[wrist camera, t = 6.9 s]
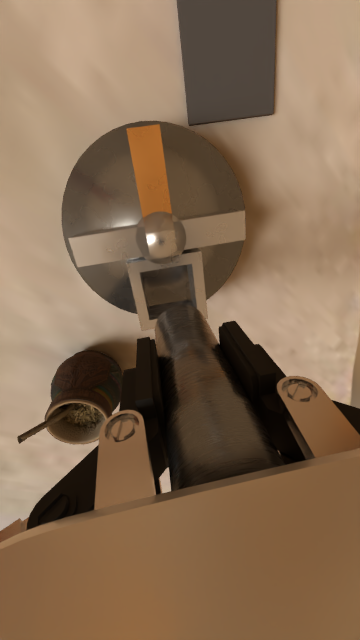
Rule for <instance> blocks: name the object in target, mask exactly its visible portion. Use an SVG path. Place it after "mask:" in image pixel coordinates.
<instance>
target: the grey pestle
mask: <svg viewBox="0 0 360 640" xmlns="http://www.w3.org/2000/svg"><path fill="white" fill-rule="evenodd" d="M155 336H156V346H157V354H158V359H159V368H160V378H161V387H162V396H163V405H164V415H165V433H166V443H167V453H168V463H169V472H170V482H171V491H175V490H179V489H184V488H188V487H192V486H196V485H201V484H205V483H209V482H214V481H218V480H222V479H227V478H231V477H235V476H239V475H244V474H248V473H253V472H257V471H261V470H266V469H270V468H274V467H279V466H283V465H285V463H284V461H283V459H282V457H281V455H280V454H279V452H278V450H277V448H276V446H275V445H274V443H273V441H272V439H271V437H270V435H269V434H268V432H267V430H266V428H265V426H264V425H263V423H262V421H261V419H260V417H259V415H258V414H257V412H256V410H255V408H254V406H253V405H252V403H251V401H250V399H249V397H248V396H247V394H246V392H245V390H244V388H243V386H242V385H241V383H240V381H239V379H238V377H237V376H236V374H235V372H234V370H233V368H232V366H231V365H230V363H229V361H228V359H227V357H226V356H225V354H224V352H223V350H222V348H221V346H220V345H219V343H218V341H217V339H216V337H215V336H214V334H213V332H212V330H211V328H210V326H209V325H208V323H207V321H206V319H205V317H204V316H203V314H202V313H201V312H200V311H199V310H198V309H196V308H195V307H192V306H189V305H176V306H173V307H170V308H168V309H167V310H165V311H164V312H163V313H162V314H161V315H160V316H159V318H158V319H157V322H156V325H155Z"/></svg>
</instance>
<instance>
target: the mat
mask: <svg viewBox="0 0 360 640" xmlns="http://www.w3.org/2000/svg"><path fill="white" fill-rule="evenodd" d="M177 8H178V18H179V29H180V39H181V49H182V60H183V70H184V81H185V91H186V102H187V112H188V123H189V126H191V125H198V124H206V123H214V122H221V121H229V120H236V119H244V118H251V117H259V116H267V115H272V114H273V111H274V72H275V34H276V0H177Z"/></svg>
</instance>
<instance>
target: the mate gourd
mask: <svg viewBox="0 0 360 640" xmlns="http://www.w3.org/2000/svg"><path fill="white" fill-rule="evenodd" d="M122 382H123V375H122V372H121V369H120V367H119V365H118V364H117V363H116V362H115V361H114V360H113V359H112V358H111V357H109V356H108V355H106V354H103V353H101V352H98V351H82V352H79V353H76V354H75V355H74V356H72V357H70V358H68V359H67V360H66V361H64V362H63V363H62V364H61V365H60V366H59V368H58V369H57V372H56V374H55V376H54V378H53V380H52V383H51V399H52V402H51V404H50V406H49V408H48V410H47V412H46V415H45V422H43V423H41V424H39V425H38V426H36V427H34V428H32V429H30V430H29V431H27V432H25V433H24V434H22V435H20V436H18V437H17V438H18V442H19V444H20V443H21V442H23V441H24V440H25V439H27V438H28V437H30V436H32V435H35V433H37V432H39V431H40V430H42V429H45V428H47V430H48V432H49V433H50V434H51V435H52V436H53V437H54V438H56V439H58V440H60V441H62V442H65V443H69V444H88V443H91V442H94V441H96V440H98V439H99V433H100V429H101V427H102V425H103V423H104V422H105V421H106V420H107V419H108V418H109V417H110V416H112V412H113V411H114V410H115V409H116V407H117V406H118V404H119V402H120V400H121V391H122Z"/></svg>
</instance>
